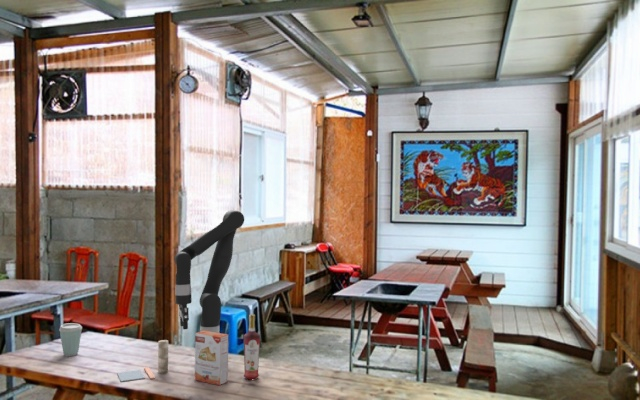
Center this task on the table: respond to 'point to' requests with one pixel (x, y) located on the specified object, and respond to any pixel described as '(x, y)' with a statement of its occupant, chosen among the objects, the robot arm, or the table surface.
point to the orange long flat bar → (149, 373)
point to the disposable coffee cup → (70, 338)
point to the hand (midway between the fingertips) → (184, 327)
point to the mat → (130, 375)
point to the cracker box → (211, 357)
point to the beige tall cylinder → (163, 356)
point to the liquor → (251, 350)
